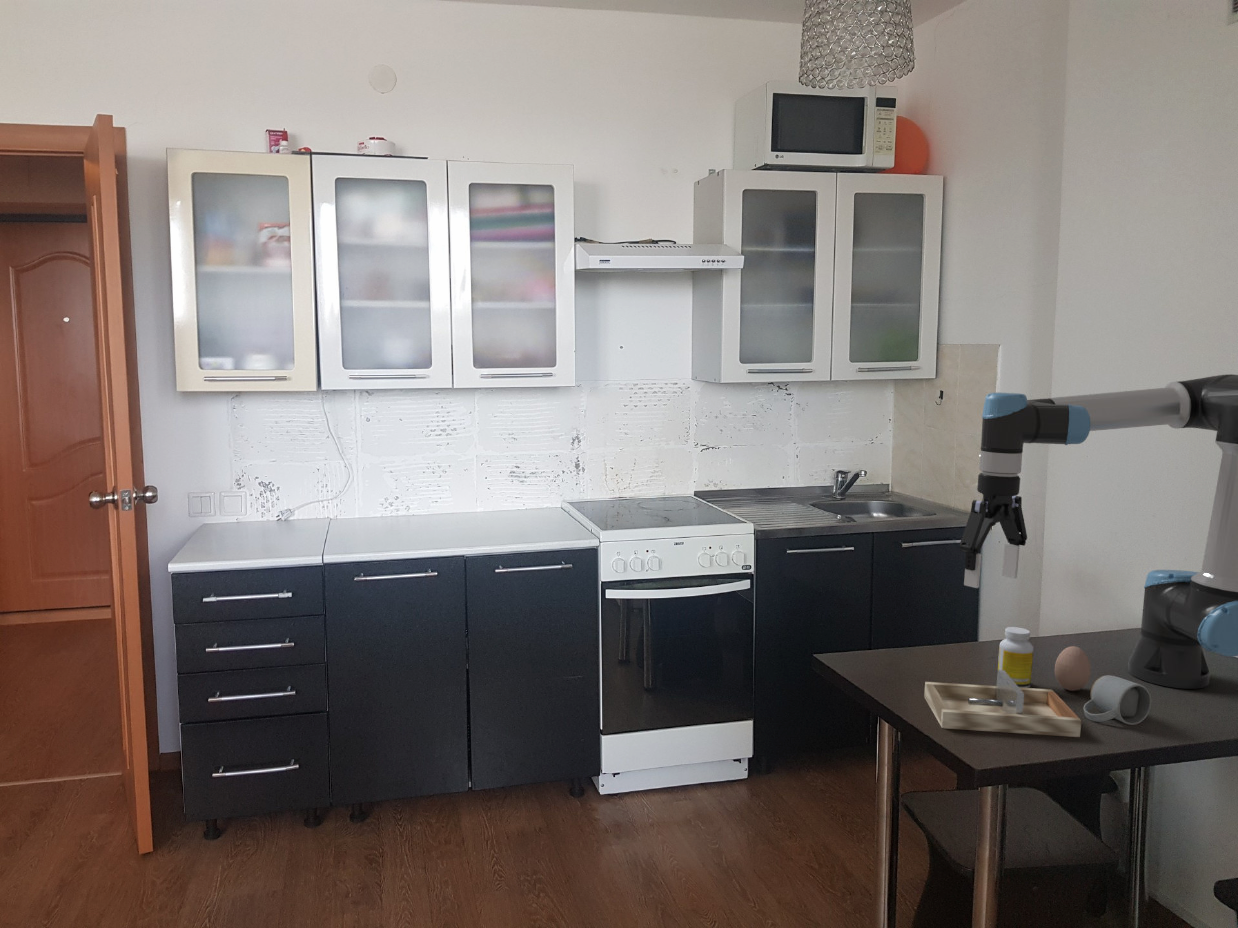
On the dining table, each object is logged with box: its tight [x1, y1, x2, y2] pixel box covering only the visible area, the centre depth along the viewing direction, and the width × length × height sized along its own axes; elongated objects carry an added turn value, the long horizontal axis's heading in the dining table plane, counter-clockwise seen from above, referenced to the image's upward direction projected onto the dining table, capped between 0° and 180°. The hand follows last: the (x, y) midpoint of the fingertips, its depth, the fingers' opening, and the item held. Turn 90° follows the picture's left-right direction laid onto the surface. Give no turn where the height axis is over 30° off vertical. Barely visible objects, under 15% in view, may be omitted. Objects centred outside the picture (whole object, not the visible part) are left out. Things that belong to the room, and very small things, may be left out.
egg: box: [1054, 645, 1092, 692], centre depth 194 cm, size 7×7×9 cm
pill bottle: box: [997, 626, 1034, 688], centre depth 196 cm, size 6×6×12 cm
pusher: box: [968, 669, 1024, 714], centre depth 180 cm, size 8×12×6 cm, turn 174°
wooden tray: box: [923, 681, 1082, 738], centre depth 180 cm, size 24×15×3 cm, turn 84°
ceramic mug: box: [1083, 674, 1152, 726], centre depth 180 cm, size 11×8×8 cm
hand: (990, 581), depth 186 cm, fingers open, 13 cm apart
